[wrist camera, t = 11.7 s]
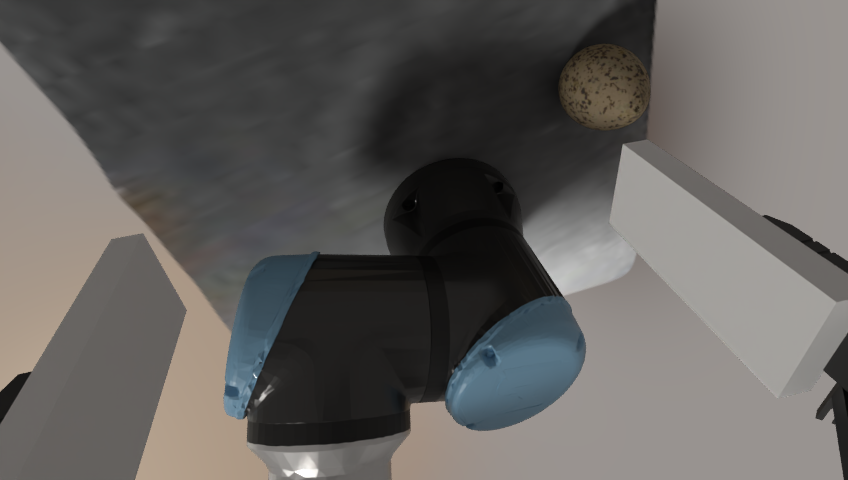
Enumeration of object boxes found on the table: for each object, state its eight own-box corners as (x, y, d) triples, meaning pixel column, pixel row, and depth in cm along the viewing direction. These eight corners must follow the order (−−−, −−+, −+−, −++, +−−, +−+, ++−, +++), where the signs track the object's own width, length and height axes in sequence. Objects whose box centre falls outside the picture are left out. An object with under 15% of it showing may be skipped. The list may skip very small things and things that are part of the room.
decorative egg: (609, 20, 42) (678, 48, 35) (617, 90, 47) (680, 129, 39) (537, 54, 43) (589, 88, 35) (552, 120, 47) (600, 164, 39)
